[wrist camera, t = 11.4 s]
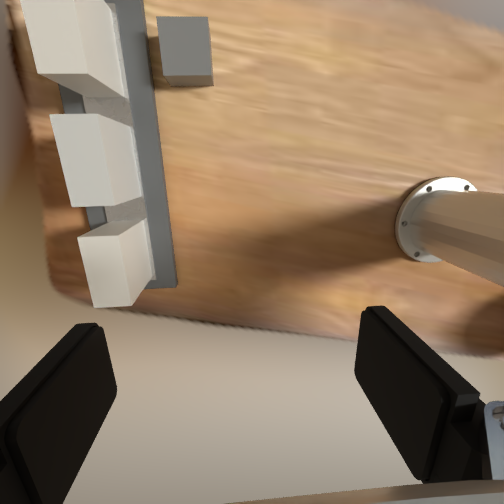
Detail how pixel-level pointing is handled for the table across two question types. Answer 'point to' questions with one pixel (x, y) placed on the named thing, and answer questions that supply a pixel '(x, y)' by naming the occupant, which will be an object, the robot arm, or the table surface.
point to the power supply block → (186, 50)
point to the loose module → (96, 159)
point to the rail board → (140, 139)
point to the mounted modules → (89, 85)
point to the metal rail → (122, 113)
